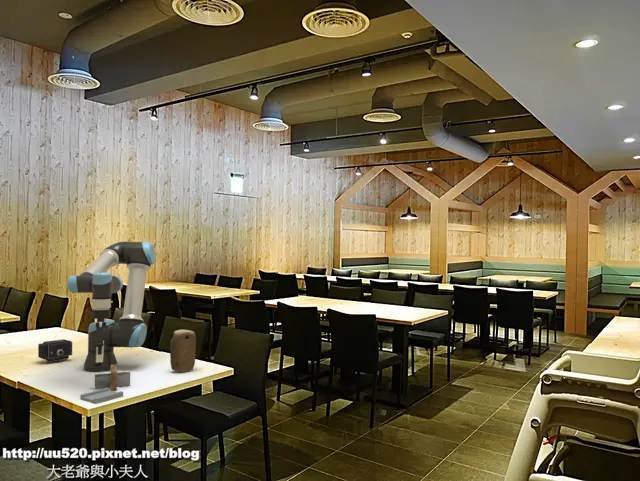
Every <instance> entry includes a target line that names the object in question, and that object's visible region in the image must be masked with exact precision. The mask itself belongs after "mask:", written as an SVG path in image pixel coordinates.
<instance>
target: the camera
mask: <svg viewBox="0 0 640 481" xmlns="http://www.w3.org/2000/svg"><path fill="white" fill-rule="evenodd" d="M37 345H38V346H37V347H38V353H37V354H38V356H37V357H38V358H40V359H41V360H45V361H47V363H48V364H53V363H55V362H63V361H64V360H68V359H69V358H70V356H73V341H71V340H69V339H56V340H55V339H54V340H47V341H43V342H41V343H38V344H37Z"/></svg>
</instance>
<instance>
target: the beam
mask: <svg viewBox="0 0 640 481" xmlns="http://www.w3.org/2000/svg"><path fill="white" fill-rule="evenodd" d="M110 373H111V377H110V390H111V391H115V392H118V391H117V390H118V389H117V373H118V363H117V364H116V365H111V370H110Z"/></svg>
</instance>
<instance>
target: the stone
mask: <svg viewBox="0 0 640 481" xmlns="http://www.w3.org/2000/svg"><path fill="white" fill-rule="evenodd" d="M172 335H173V336H172V338H171V341H170V351H169V352H170V354H169V355H170V356H169V357H170V359H169V360H170V367H171V368H170V369H171V370H172V371H174V372H177V373H187V372H191V371H193V369H194V367H195V364H196V348H197V337H196V333H195V331H193V330H188V329H178V330H174V331H173V333H172Z"/></svg>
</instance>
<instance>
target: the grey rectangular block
mask: <svg viewBox="0 0 640 481" xmlns="http://www.w3.org/2000/svg"><path fill="white" fill-rule="evenodd" d="M110 377H111V372H107V373H98V374H97V373H96V374H94V390H95V389H97V390H100V389H104V388H110ZM128 386H130V387H131V372H130V371H123V372H117V387H119V388H129V387H128Z"/></svg>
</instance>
